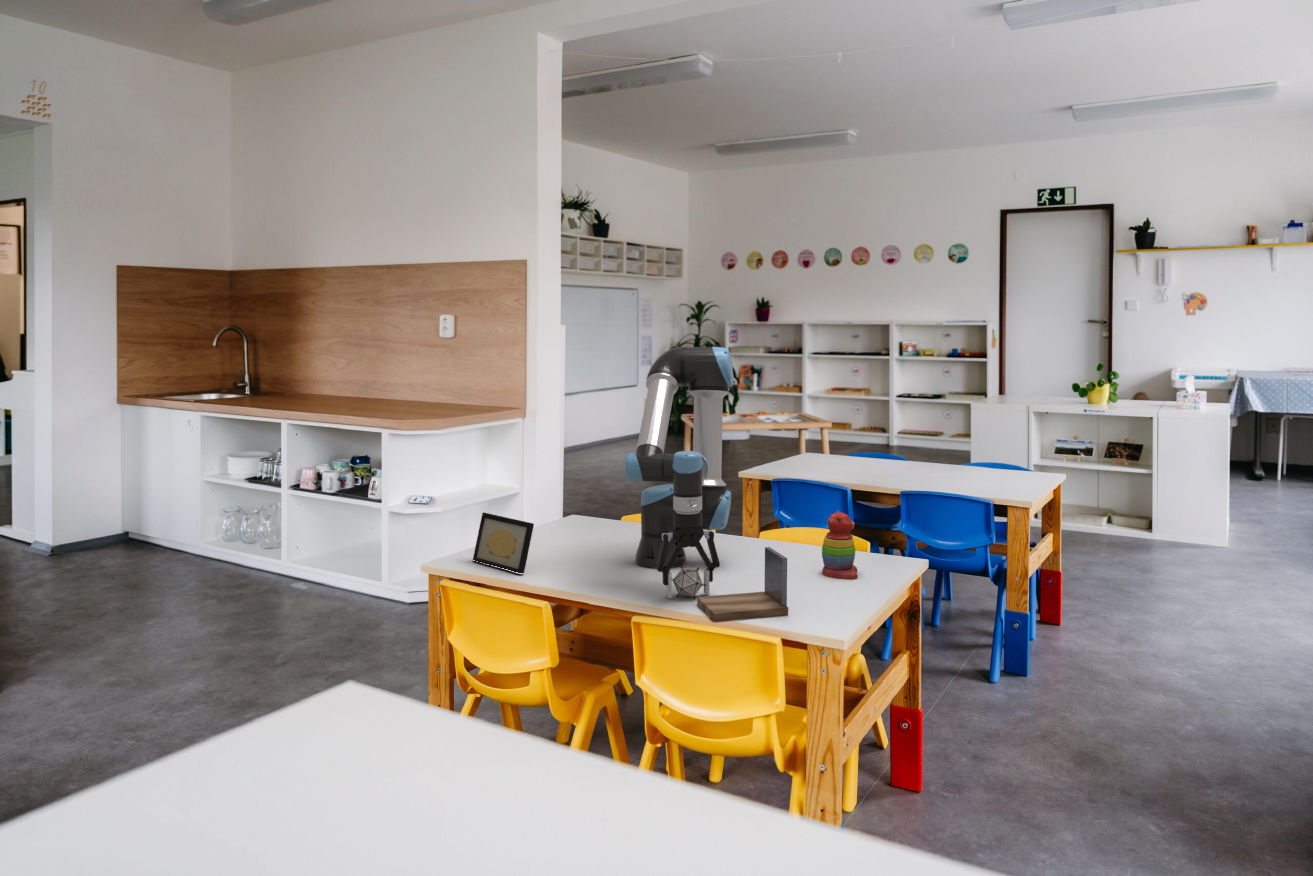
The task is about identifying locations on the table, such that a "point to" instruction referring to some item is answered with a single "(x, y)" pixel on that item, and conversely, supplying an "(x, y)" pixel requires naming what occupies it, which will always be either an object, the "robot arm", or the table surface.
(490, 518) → the picture frame
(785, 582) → the bookend
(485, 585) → the table surface
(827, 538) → the stacking bear
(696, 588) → the game die
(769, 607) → the shelf plank
